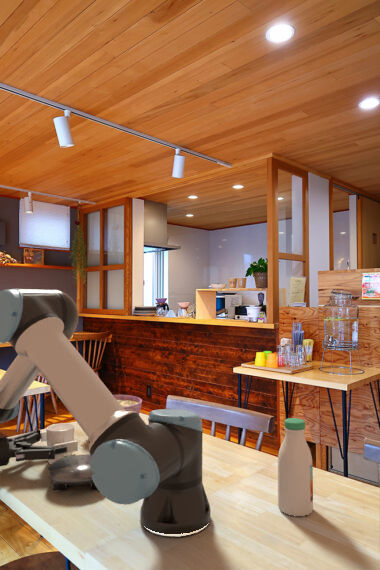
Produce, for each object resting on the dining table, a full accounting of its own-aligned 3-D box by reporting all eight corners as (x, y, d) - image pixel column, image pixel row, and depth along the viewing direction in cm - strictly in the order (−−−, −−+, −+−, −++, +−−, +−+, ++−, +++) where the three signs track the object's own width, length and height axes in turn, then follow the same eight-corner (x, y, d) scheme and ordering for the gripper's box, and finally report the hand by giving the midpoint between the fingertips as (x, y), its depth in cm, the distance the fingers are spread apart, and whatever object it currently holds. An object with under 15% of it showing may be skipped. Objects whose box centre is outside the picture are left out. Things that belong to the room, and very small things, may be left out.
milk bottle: (307, 521, 94) (306, 427, 94) (272, 512, 98) (272, 421, 98) (317, 506, 100) (316, 418, 101) (284, 498, 104) (284, 413, 105)
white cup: (66, 467, 123) (66, 431, 124) (40, 465, 125) (41, 430, 125) (78, 457, 131) (79, 423, 131) (54, 455, 133) (54, 422, 133)
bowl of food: (113, 422, 167) (113, 392, 167) (153, 432, 155) (153, 399, 156) (71, 436, 151) (71, 402, 151) (112, 448, 139) (112, 411, 139)
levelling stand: (122, 487, 111) (122, 469, 111) (58, 503, 102) (59, 483, 102) (97, 464, 125) (97, 449, 125) (39, 477, 116) (39, 460, 117)
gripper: (-16, 453, 129) (57, 440, 140) (0, 483, 108) (84, 465, 119) (-15, 427, 129) (57, 416, 140) (0, 452, 108) (84, 437, 119)
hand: (69, 439), depth 130 cm, fingers open, 13 cm apart
